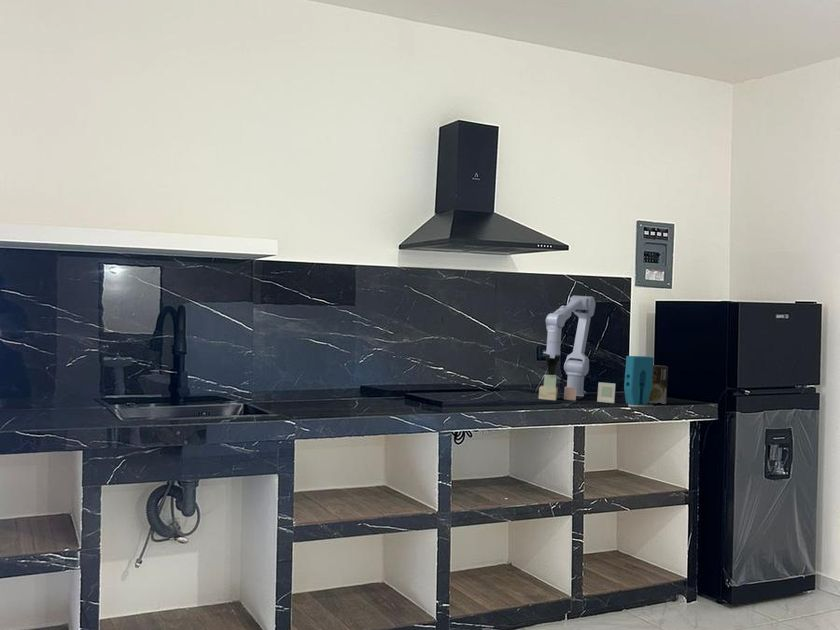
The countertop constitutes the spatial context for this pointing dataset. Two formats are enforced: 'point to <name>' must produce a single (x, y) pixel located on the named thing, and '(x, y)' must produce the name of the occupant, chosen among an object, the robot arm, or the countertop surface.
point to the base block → (548, 393)
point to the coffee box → (659, 385)
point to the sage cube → (550, 381)
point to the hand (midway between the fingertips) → (551, 374)
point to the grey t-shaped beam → (606, 392)
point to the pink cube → (570, 393)
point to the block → (638, 379)
